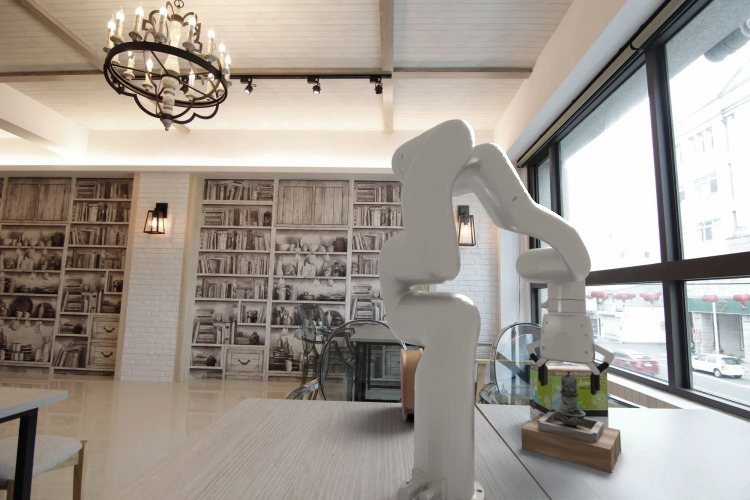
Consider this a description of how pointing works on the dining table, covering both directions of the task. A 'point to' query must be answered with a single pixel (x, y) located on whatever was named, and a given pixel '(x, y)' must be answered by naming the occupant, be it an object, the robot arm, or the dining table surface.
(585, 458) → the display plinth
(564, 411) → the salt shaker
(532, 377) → the tea box
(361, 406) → the dining table surface
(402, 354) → the face sculpture
